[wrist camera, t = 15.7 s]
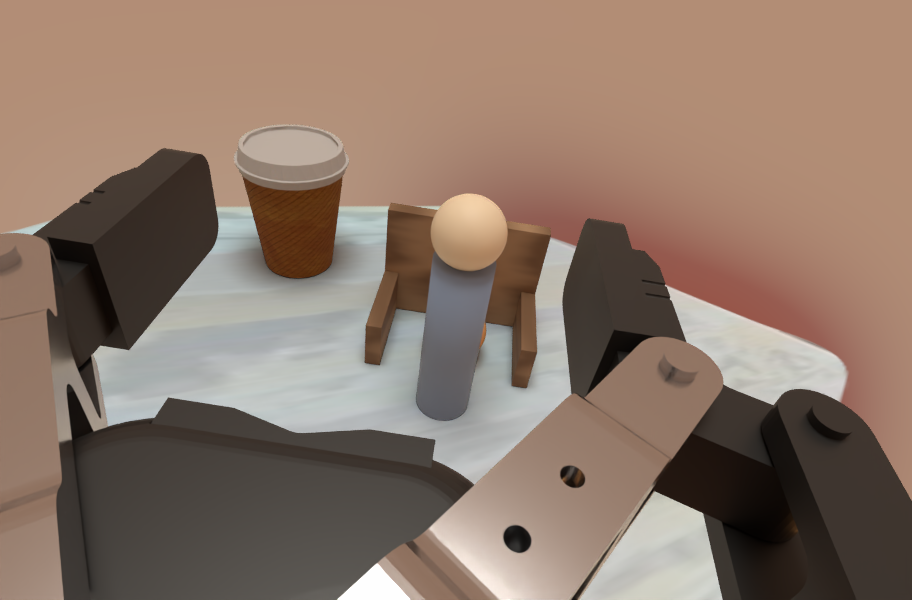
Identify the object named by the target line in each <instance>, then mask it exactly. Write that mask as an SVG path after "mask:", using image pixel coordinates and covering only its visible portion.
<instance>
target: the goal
mask: <svg viewBox="0 0 912 600" xmlns="http://www.w3.org/2000/svg"><path fill="white" fill-rule="evenodd" d="M437 211H438V210H434V209H427V208H421V207H414V206H408V205H402V204H395V203H391V204H390V207H389V209H388V224H387V243H386V262H385V272H384V275H383V278H382V281H381V284H380V286H379V289H378V292H377V295H376V298H375V301H374V304H373V306H372V309H371V312H370V315H369V318H368V321H367V324H366V338H365V363H370V364H376V365H380V362H381V358H382V355H383V351H384V348H385V345H386V341H387V338H388V334H389V331H390V327H391V324H392V321H393V317H394V314H395V310H396V308H398V309H405V310H411V311H418V312H424V313H426V310H427V301H428V293H429V284H430V276H431V267H432V259H433V254H434V252H435V249H434V247H433V244H432V240H431V225H432V221H433V218H434V216H435V214H436V212H437ZM506 223H507V229H508V235H507V242H506V245H505V248H504V250H503V252H502V253H501V255H500V256H499V257H498V259H497V260H496V270H495V275H494V280H493V285H492V289H491V294H490V299H489V304H488V309H487V314H486V318H485V322H488V323H494V324H500V325H507V326H513V339H512V386H517V387H523V388H527V384H528V381H529V377H530V374H531V371H532V367H533V364H534V361H535V357H536V354H537V337H536V309H535V292H536V289H537V285H538V281H539V277H540V274H541V270H542V266H543V263H544V259H545V255H546V252H547V248H548V244H549V241H550V237H551V231H550V228H548V227H542V226H535V225H529V224H522V223H516V222H510V221H506Z"/></svg>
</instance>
